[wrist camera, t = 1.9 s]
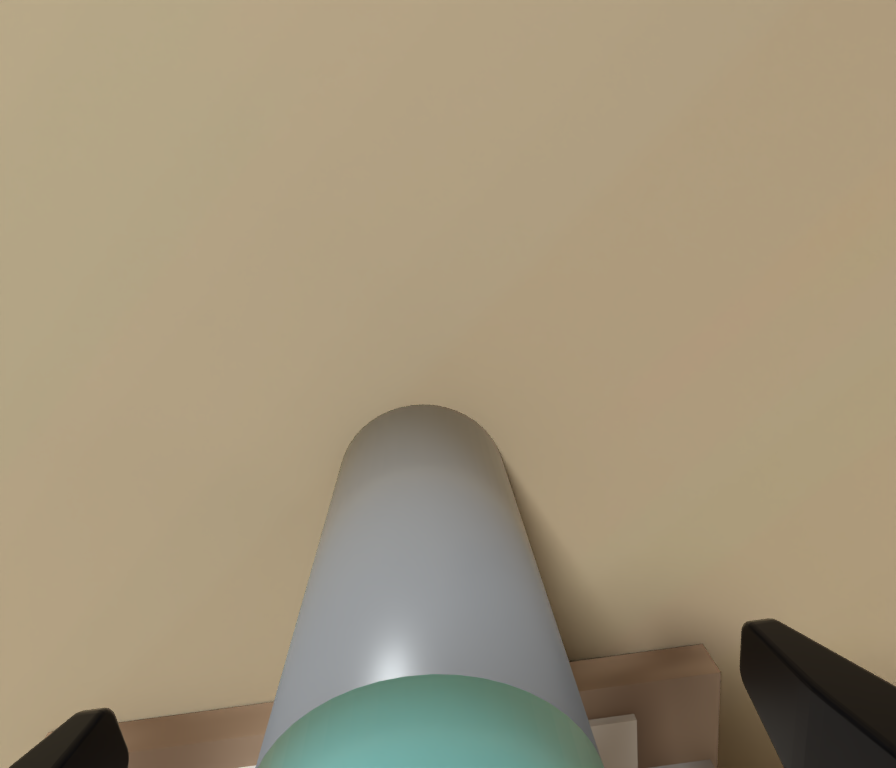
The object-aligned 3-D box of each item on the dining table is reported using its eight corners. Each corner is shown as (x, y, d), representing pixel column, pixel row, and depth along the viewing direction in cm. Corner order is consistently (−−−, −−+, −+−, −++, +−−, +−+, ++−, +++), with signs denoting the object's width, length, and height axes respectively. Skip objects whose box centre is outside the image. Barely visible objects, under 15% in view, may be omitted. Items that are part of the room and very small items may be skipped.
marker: (497, 394, 13) (695, 868, 4) (511, 542, 15) (688, 1179, 5) (325, 416, 13) (100, 953, 4) (354, 563, 15) (238, 1245, 5)
